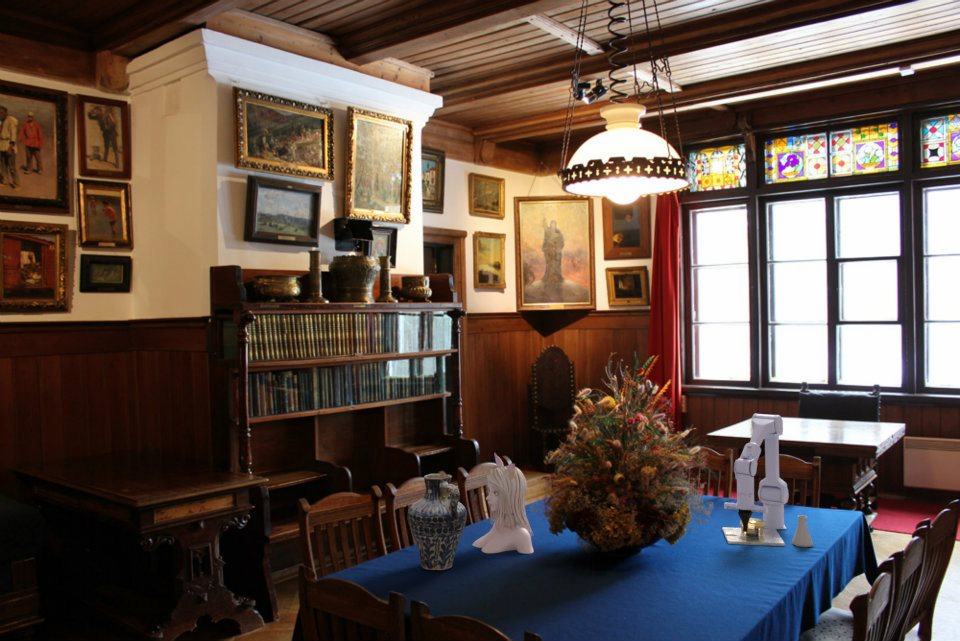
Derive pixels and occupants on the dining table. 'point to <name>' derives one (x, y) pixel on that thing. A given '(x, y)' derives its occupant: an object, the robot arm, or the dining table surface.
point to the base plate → (753, 537)
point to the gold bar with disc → (753, 525)
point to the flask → (802, 533)
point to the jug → (437, 522)
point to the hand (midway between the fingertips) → (745, 531)
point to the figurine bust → (506, 511)
